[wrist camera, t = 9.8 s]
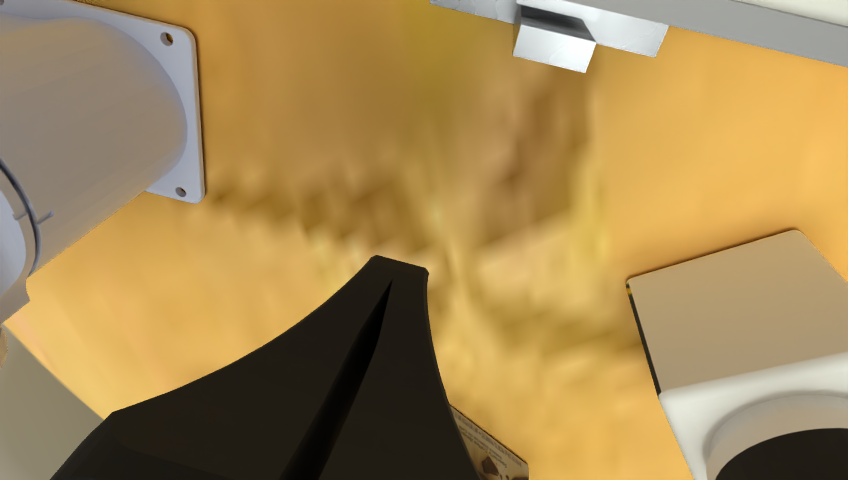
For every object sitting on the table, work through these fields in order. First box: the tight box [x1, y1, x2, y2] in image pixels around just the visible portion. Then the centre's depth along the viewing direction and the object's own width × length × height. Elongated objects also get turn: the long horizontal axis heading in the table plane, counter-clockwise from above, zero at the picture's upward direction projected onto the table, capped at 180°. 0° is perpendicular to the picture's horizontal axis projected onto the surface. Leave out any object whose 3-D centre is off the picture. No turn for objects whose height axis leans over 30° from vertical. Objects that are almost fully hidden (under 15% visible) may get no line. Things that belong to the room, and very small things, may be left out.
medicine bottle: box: [626, 230, 848, 480], centre depth 19 cm, size 7×7×12 cm
